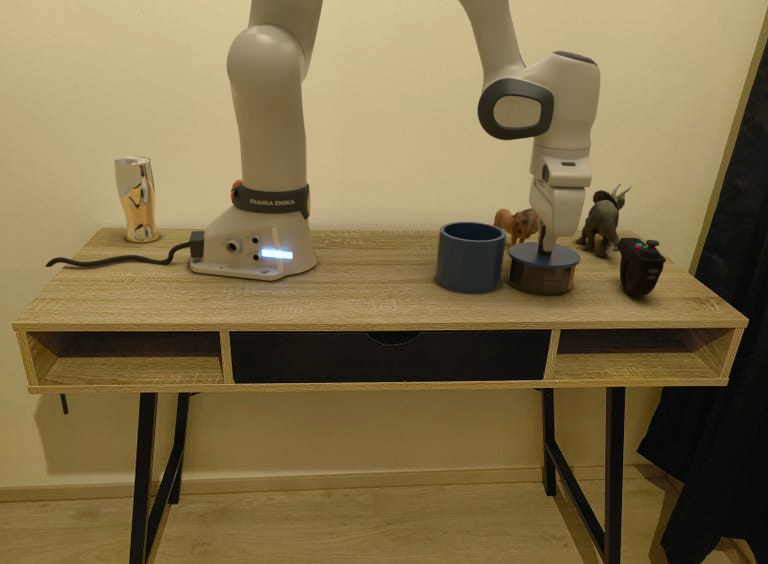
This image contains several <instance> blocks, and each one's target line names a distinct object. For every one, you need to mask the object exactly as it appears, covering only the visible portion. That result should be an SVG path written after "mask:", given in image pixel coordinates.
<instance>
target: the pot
mask: <svg viewBox="0 0 768 564" xmlns="http://www.w3.org/2000/svg"><path fill="white" fill-rule="evenodd" d="M506 239H507V232H506V231H505V230H504V229H503V230H502V229H501V228H499V227H496V226H493V224H489V223H484V222H477V221H455V222H448V223H446V224H442V226H440V228H439V232H438V243H437V255H436V256H437V257H436V269H435V281H436V283H437V285H439V286H440V287H442V288H444V289H446V290H448V291H452V292H457V293H462V294H484V293H489V292H493V291H495V290H497V289H498V288H499V286H500V282H501V278H502V277H501V276H502V269H503V262H504V255H505V246H506Z"/></svg>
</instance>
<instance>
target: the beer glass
mask: <svg viewBox="0 0 768 564" xmlns="http://www.w3.org/2000/svg"><path fill="white" fill-rule="evenodd" d="M113 163H114V175H115V183H116V184H115V185H116V190H117V194H118V197H119V200H120V204H121V207H122V210H123V213H124V217H125V222H126V240H127V241H128V242H131V243H137V244H138V243H140V244H142V243H151V242H154V241H156V240H158V239H159V237H160V234H159V232H158V228H157V225H156V217H155V216H156V215H155V212H156V210H155V208H156V180H155V173H154V168H153V164H152V159H151V158H150V157H146V156H123V157H118V158H116V159H115V160H114V161H113Z"/></svg>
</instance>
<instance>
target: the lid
mask: <svg viewBox="0 0 768 564" xmlns="http://www.w3.org/2000/svg"><path fill="white" fill-rule="evenodd" d="M545 234H546V226H542V227H541V232H540V238H539V241H526V242H525V241H524V243H519V242H518V243H516V244H515V245H513V246H511V245H510V247H509V248H508V252H507V253H508V257H509V258H510V257H511V258H512V259H513V260H515V261H517V262H519V263H522V264H525V265H529V266H533V267H538V268H547V269H562V268H569V267H573V266H576V267H577V265H579V264H580V263H581V259H582V258H581V257H582V256H581V255H580V253H579V252H577V251H576V250H574V249H572V248H570V247H567V246H564V245H561V244H555V249H554V251H552V252H551V251H544V249H543V247H542V244H543V238H545Z"/></svg>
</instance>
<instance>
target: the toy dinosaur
mask: <svg viewBox="0 0 768 564" xmlns="http://www.w3.org/2000/svg"><path fill="white" fill-rule="evenodd" d="M621 185H622V183H619V184H618V185H617V186H616V187H614V189H613V190H612V191H611V193H610V192H609V191H606V190H603V189H597V190H596V191H595V192H594V194H593V195H592V202H593V205H592V207H590V210H589V211H588V214H587V217H586V218H585V221H584V223H585V224H584V226H583V227H582V229H581V236H580V237H579V238H576V239H575V240H576V241H575V243H577V244H585V243H587V244H586V245H583V246H582V248H581V249H582V250H583V251H589V252H592V251H593V250H594V249H595V248H596V247H595V246H596V235H599V236H600V237H602V239H601V240H600V245H599V247H598V248H597V250H596V251H597V252H595V255H596V256H599V257H603V258H606V259H607V258H609V256H608V254H607V251H608V248H609V246H611V243H612V244H613V247H612V251H613V252H619V250H618V248H617V244H618V242H619V241H620V239H619V236H618V233H617V228H618V226H619V218H620V210H622V209H623V208H624V206H625V203H626V199H625V198H626V193H628V192H629V191H630V190H631V189H632V185H629V187H628V188H626V189H624V190H623V191H621V192H620V193H618V194H617V191H618V189H619V188H620V186H621Z"/></svg>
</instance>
